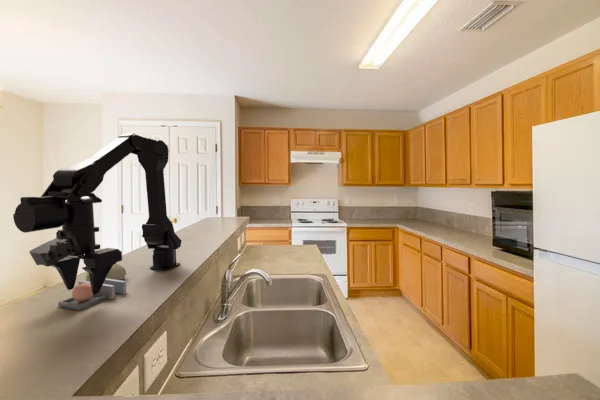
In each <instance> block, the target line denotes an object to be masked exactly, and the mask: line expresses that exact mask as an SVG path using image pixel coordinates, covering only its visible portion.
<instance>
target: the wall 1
mask: <svg viewBox="0 0 600 400" xmlns="http://www.w3.org/2000/svg"><path fill="white" fill-rule="evenodd" d="M83 283H88V284H90V285H91V283H90V282H89V281H86V280H79V281H78V285H79V284H83ZM99 293H100V294H106V295H107V299H111V300H113V299H115V298H116V293H115V286H114V285H108V284H103V285H102V287H101V289H100V291H99Z"/></svg>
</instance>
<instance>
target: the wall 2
mask: <svg viewBox="0 0 600 400" xmlns="http://www.w3.org/2000/svg"><path fill="white" fill-rule="evenodd" d="M103 284H108V285H114V286H115V294H121V295H124V294H127V283H126V280H114V279H108V278H106V279H105V281H104V283H103Z"/></svg>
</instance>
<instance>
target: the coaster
mask: <svg viewBox="0 0 600 400" xmlns="http://www.w3.org/2000/svg"><path fill="white" fill-rule="evenodd" d="M107 299H108V298H107V295H106V294H100V293H97V294H93V295H92V297H91V298H90V299H88V300H86V301H82V302H80V301H76V300H75V299H74V298H73V297H72V296H71V297H69V298H66V299H63V300H60V301H58V307H59V306H61V307H60V308H63V307H64V309H68V310H74V311H78V312H79V311H81V310H83V309H86V308H89V307H91V306H93V305H96V304H99V303H100V302H103V301H105V300H107Z"/></svg>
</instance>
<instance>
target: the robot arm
mask: <svg viewBox="0 0 600 400" xmlns="http://www.w3.org/2000/svg"><path fill="white" fill-rule="evenodd" d="M131 154H132V155H136V157H137V161H138V163H139V164H140V166H141V167H142V169H144V173H145V186H146V196H147V197H146V198H147V209H148V210H147V211H148V219H147V221H146V222H145V223H143V224H142V225H141V230H142V235H141V237H142V238H143V241H144V243H146V247H147V249H149V250H151V249H152V252H153V254H152V265H150V267H149V269H152V270H157V271H159V270H160V271H168V270H171V269H173V268H175V267H178V266H180V265H181V263H180V262H177V250H178V249H179V248H181V246H182V239H181V238H180V237H179V236H178V235H177V233H175V228H174V224H173V222H172V221H171V219H170V218H169V217H168V214H167V201H166V187H165V185H166V184H165V173H164V170H165V168H166V166H167V164H168V162H169V154H170V153H169V147H168V145H167V144H166V142H164V141H163V140H161V139H152V138H148V137H143V136H141V135H138V134H135V133H124V134H123V133H122V134H120V135H118V136H117V138H116V139H114V140H113V141H112V142H110V143H109V144H107V145H106V146H104V147H103V148H101V149H100V150H98V151H97V152H95V153H94V154H93V155H91V156H90V157H89V158H87V159H85V160H82V161H79V162H78V161H77V162H76V163H73V164H69V165H67V166H65V167H62V168H60V169H58V170H57V171H55V172H54V173H53V175H52V179H53V180H52V181H51V182H50V184H49V185H48V187H47V188H46V189H45V191H44V192H43V193H42V195H41V196H21V197H20V198H19V199H20V203H19V204H18V205H17V206H16V208H15V210H14V213H13V215H12V216H13V217H12V218H13V222H14V224H15V227H16V228H17V229H18V230H19V231H20V232H22V233H24V234H25V233H32V232H38V231H44V230H50V229H52V230H53V229H56V228H57V229H58V228H62V229H59V230H56V233H55V234H56V237H55V238H54V239H52V240H47V242H44V243H43V244H39V245H38V246H36V247H34V248H32V249H31V250H29V251H28V252H29V255H30V256H31V257H32V258H31V259H33V261H34V263H35V265H36V266H44V267H52V268H55V269H56V270H57V272H58V274H59V276H60V277H61V279H62V282H63V283H64V285H65V287H66V290H68V291H70V290H73V289H74V288H75V284H76V281H77V275H78V272H79V271H78V270H79V266H80V261H81V260H83V264H84V265H85V266H84V267H83V266H82V267H81V269H82V270H84V271H85V272H87V273H89V277H90V283H91V288H92V292H93V294H97V293H99V291H100V289H101V287H102V285H103V283H104V281H105V279H106V277H107V275H108V273H109V271H110V270H111V268H112V266H113V265H114V264H118V263H119V262H121V261H123V252H122V250H121V249H118V248H111V247H104V248H102V249H101V244H99V243H96V233H97V232H100V227H99V226H95V216H94V204H98V203H99V204H100V203H102V202H103V200H102V199H101V198H100V197H98V195H96V194H95V193H94V192H95V191H96V189H97V188H98V187H99V186H100V185H101V184H102V183H103V181H104V177H105V175H106V174H107V172H108V171H110V170H112V168H113V167H115V166H116V165H117V164H119V163H120V162H121V161H122V160H124V159H125V158H126V157H128V156H129V155H131Z"/></svg>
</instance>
